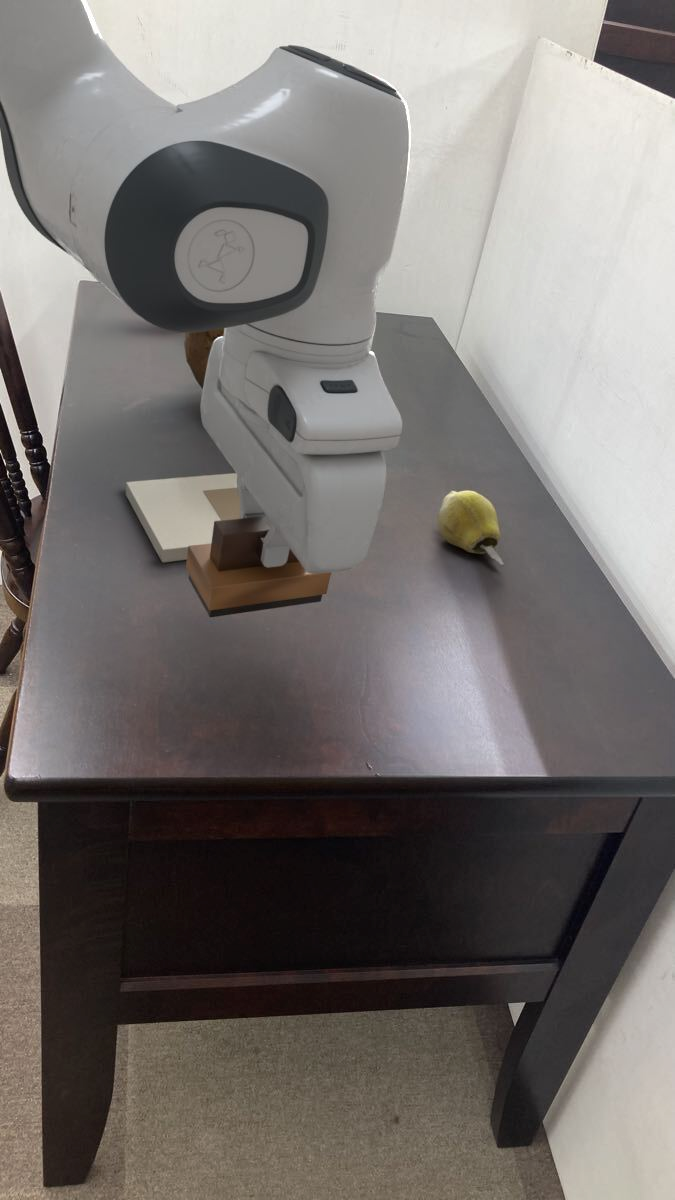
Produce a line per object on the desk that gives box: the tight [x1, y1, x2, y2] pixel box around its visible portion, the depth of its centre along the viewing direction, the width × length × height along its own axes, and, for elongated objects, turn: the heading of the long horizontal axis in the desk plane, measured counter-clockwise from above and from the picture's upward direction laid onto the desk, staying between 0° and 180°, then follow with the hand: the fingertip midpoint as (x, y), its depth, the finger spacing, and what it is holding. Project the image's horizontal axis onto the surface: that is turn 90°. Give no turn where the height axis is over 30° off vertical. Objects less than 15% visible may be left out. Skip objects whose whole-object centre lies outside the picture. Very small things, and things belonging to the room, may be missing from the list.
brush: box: [185, 516, 332, 618], centre depth 63 cm, size 9×5×6 cm, turn 116°
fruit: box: [436, 490, 504, 567], centre depth 92 cm, size 6×6×10 cm
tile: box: [125, 472, 241, 563], centre depth 90 cm, size 20×12×2 cm, turn 116°
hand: (261, 548), depth 62 cm, fingers closed on brush
